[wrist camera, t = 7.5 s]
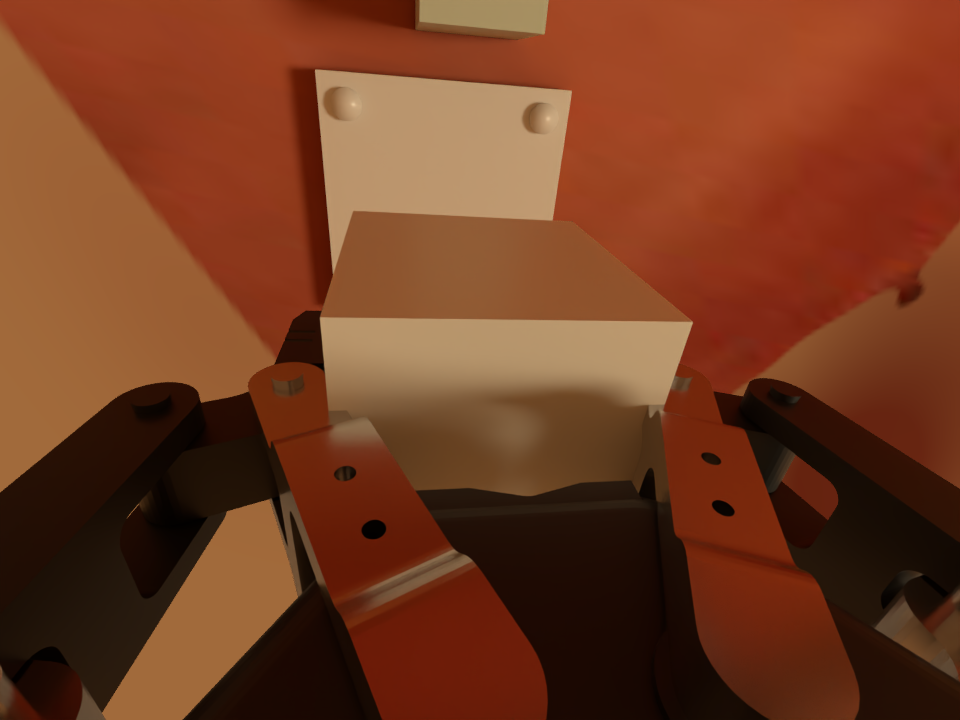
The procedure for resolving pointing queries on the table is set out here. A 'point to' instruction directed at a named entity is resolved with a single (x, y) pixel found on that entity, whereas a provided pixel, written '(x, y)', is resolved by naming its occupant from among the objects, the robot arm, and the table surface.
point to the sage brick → (483, 17)
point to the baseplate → (437, 147)
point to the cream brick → (496, 350)
